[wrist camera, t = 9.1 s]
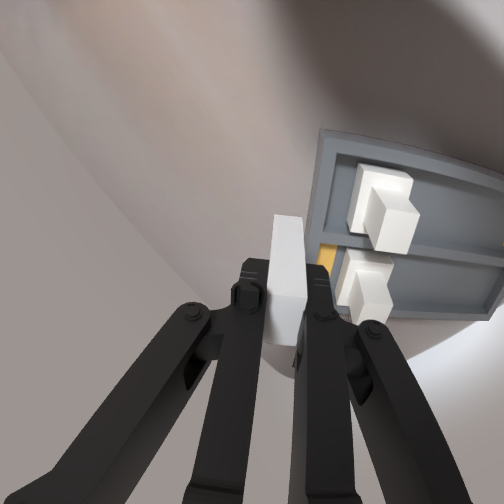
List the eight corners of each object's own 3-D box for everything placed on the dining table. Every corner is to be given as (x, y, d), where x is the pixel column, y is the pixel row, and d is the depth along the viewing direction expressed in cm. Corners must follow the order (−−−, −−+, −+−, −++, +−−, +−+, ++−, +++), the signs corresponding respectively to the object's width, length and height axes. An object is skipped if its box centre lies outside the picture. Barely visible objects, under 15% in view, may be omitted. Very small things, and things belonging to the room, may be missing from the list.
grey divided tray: (320, 128, 23) (324, 137, 20) (528, 184, 21) (547, 198, 18) (295, 285, 32) (295, 309, 29) (478, 301, 30) (488, 320, 27)
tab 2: (346, 246, 26) (358, 291, 21) (388, 251, 25) (407, 295, 20) (334, 290, 28) (340, 338, 23) (373, 294, 28) (385, 340, 23)
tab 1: (358, 162, 22) (378, 191, 17) (404, 171, 21) (434, 202, 16) (346, 220, 24) (359, 261, 19) (390, 226, 24) (411, 267, 19)
